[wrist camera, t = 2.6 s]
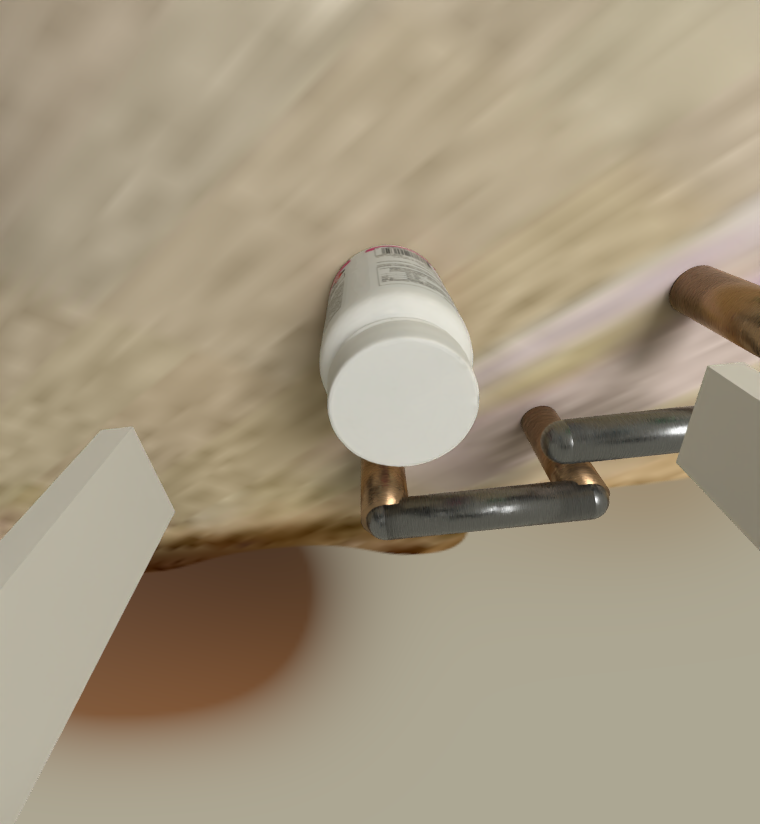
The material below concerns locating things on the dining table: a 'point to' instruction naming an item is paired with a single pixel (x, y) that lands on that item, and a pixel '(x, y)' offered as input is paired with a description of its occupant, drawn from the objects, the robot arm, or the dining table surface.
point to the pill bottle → (396, 360)
